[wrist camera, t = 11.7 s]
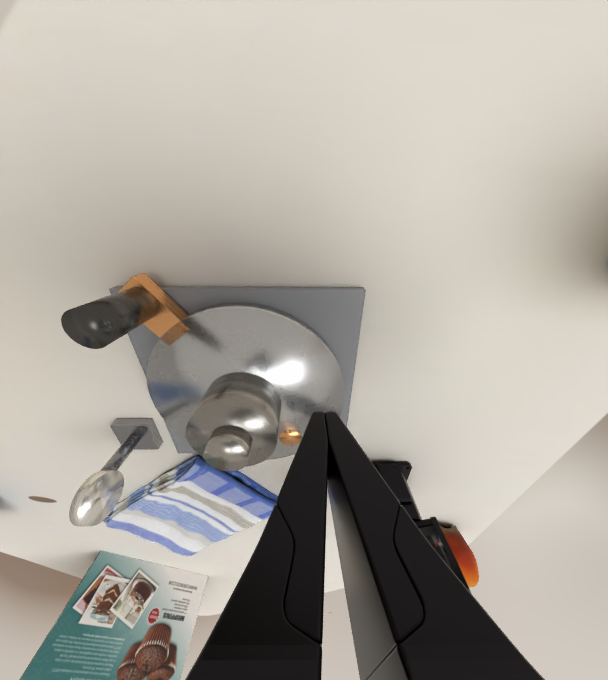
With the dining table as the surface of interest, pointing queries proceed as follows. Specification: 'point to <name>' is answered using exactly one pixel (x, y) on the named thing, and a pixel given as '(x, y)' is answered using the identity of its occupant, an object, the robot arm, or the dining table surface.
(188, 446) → the plinth
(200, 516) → the dish towel
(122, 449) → the stand
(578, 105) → the dining table surface
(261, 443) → the stepped metal cylinder
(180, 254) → the dining table surface
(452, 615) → the robot arm
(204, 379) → the turntable
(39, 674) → the cake mix box
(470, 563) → the fruit
